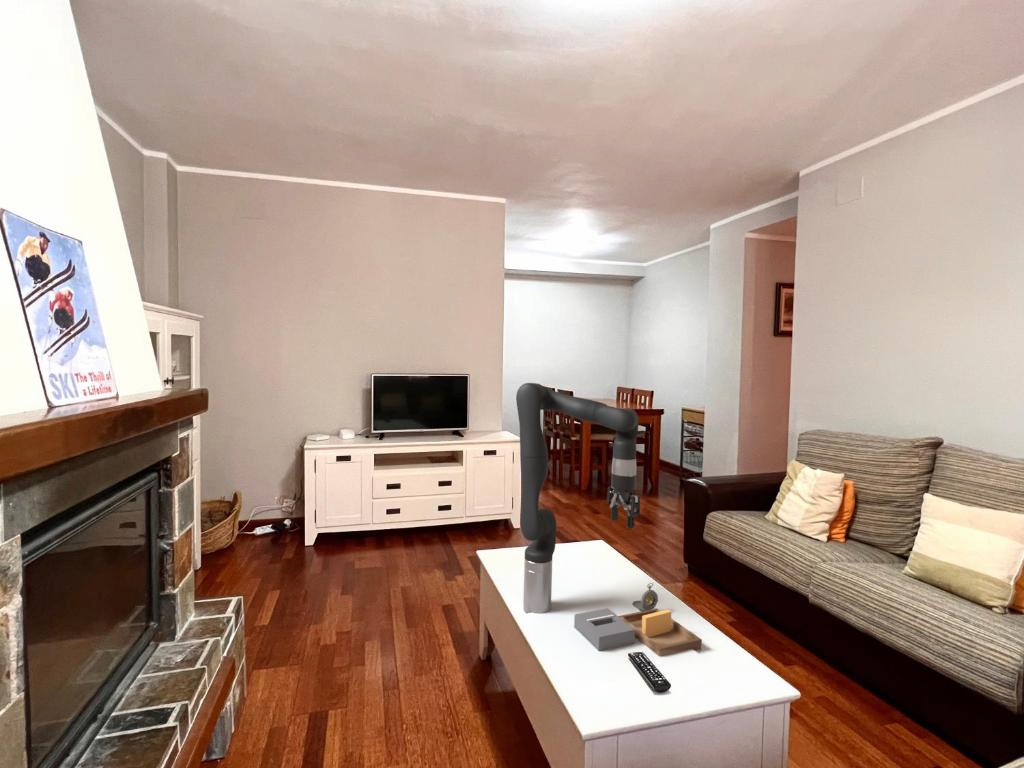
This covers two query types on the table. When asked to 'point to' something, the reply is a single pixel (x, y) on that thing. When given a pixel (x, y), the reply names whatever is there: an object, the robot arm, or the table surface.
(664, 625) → the yellow rectangular block
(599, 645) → the dispenser
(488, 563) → the table surface
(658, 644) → the tray
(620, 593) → the table surface
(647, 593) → the pocket watch
